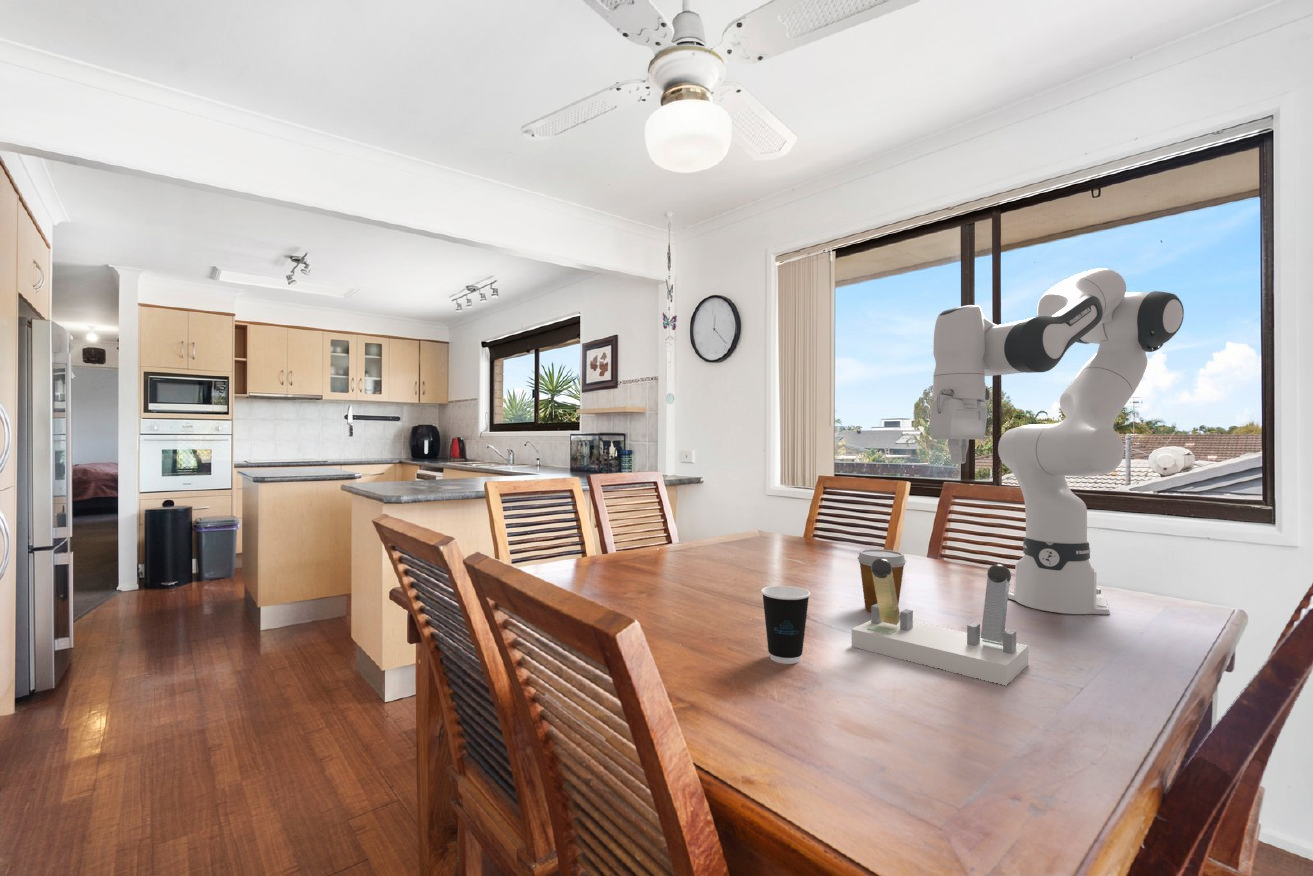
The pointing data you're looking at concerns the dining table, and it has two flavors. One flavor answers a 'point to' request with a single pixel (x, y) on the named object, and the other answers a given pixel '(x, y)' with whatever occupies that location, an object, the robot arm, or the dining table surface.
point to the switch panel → (943, 647)
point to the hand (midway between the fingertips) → (958, 463)
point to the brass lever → (885, 591)
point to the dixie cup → (785, 621)
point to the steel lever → (996, 603)
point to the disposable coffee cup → (867, 579)
